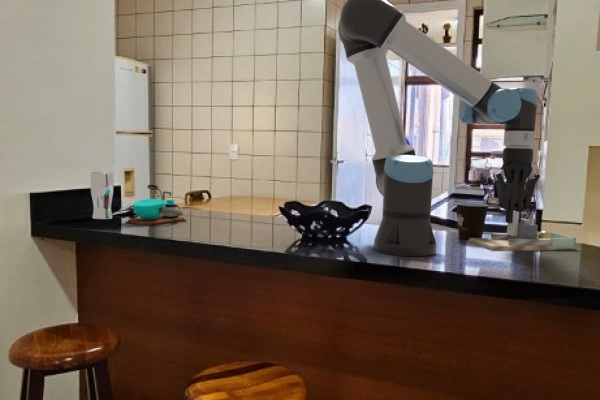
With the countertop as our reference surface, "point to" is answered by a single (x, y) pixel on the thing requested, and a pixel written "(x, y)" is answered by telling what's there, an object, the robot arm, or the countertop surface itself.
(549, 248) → the jig board
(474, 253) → the countertop surface
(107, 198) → the beer glass
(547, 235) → the brass ball
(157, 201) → the contraption on wooden base
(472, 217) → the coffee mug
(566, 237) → the tray
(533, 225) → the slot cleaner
